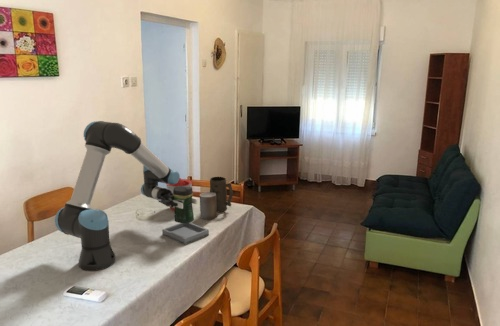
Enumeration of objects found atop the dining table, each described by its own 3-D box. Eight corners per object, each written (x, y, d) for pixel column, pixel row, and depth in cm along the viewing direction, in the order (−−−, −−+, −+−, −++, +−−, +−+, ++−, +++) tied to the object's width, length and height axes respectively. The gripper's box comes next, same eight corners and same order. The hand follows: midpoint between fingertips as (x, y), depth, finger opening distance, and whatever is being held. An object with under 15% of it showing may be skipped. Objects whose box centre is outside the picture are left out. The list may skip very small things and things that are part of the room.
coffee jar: (196, 219, 207) (195, 185, 203) (188, 225, 200) (186, 189, 196) (180, 217, 211) (179, 183, 207) (171, 222, 204) (170, 187, 200)
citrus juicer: (190, 202, 258) (189, 172, 254) (194, 211, 242) (193, 179, 237) (165, 205, 253) (164, 174, 249) (168, 214, 237) (167, 181, 233)
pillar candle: (219, 214, 237) (218, 190, 234) (213, 220, 228) (212, 195, 224) (203, 213, 239) (202, 189, 236) (197, 219, 230) (196, 194, 227)
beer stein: (205, 210, 243) (207, 179, 238) (212, 205, 253) (213, 175, 248) (229, 215, 239) (231, 183, 234) (235, 209, 249) (237, 178, 244)
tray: (184, 244, 196) (184, 239, 195) (162, 234, 208) (162, 229, 207) (208, 235, 208) (208, 229, 207) (186, 226, 219) (186, 221, 219)
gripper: (177, 196, 223) (205, 205, 209) (145, 205, 208) (172, 216, 193) (177, 183, 222) (205, 191, 207) (144, 192, 206) (172, 201, 192)
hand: (189, 203), depth 200 cm, fingers closed on coffee jar, 8 cm apart
